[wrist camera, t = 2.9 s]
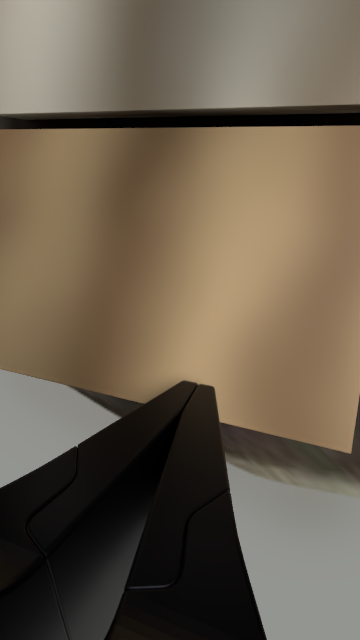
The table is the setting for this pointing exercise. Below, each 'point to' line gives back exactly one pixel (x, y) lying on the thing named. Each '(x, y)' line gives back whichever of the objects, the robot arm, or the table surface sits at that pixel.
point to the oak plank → (189, 268)
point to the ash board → (178, 58)
